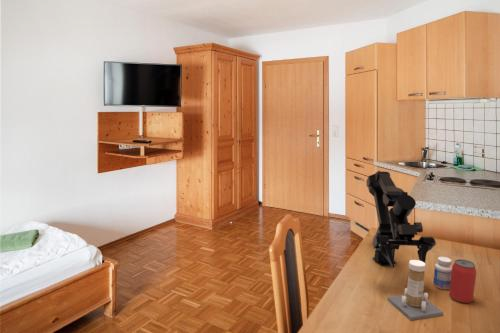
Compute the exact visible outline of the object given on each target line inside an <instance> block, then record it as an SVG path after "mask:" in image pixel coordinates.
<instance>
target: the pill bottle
mask: <svg viewBox="0 0 500 333" xmlns="http://www.w3.org/2000/svg"><path fill="white" fill-rule="evenodd" d="M434 264H435V265H434V272H433V285H434V287H436V288H438V289H440V290H450V282H451V273H452V266H453V265H452V259H451V258H449V257H447V256H438V257H437V263H434Z"/></svg>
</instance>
